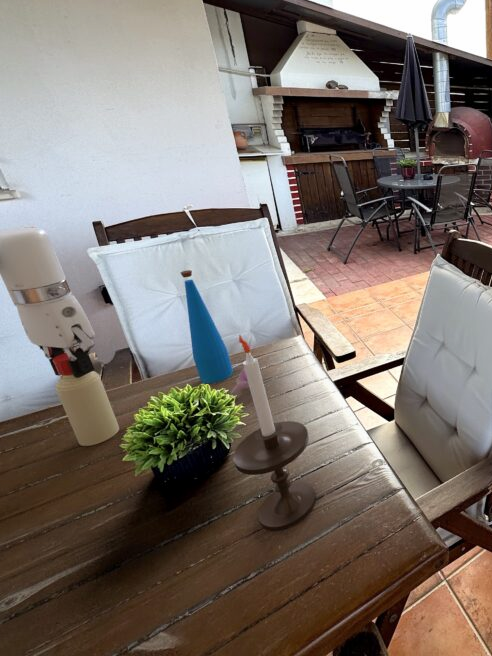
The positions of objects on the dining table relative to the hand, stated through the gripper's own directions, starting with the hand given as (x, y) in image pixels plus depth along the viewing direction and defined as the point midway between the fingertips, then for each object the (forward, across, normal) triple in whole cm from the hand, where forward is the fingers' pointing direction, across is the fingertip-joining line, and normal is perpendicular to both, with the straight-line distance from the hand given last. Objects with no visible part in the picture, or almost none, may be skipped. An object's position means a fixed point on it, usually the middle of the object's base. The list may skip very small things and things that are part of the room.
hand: (75, 372), depth 83 cm
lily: (+16, -22, -17) cm, 32 cm away
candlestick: (+16, -53, +9) cm, 56 cm away
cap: (-1, 0, 0) cm, 1 cm away
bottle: (+16, -6, -24) cm, 29 cm away
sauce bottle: (+16, 0, 0) cm, 16 cm away
